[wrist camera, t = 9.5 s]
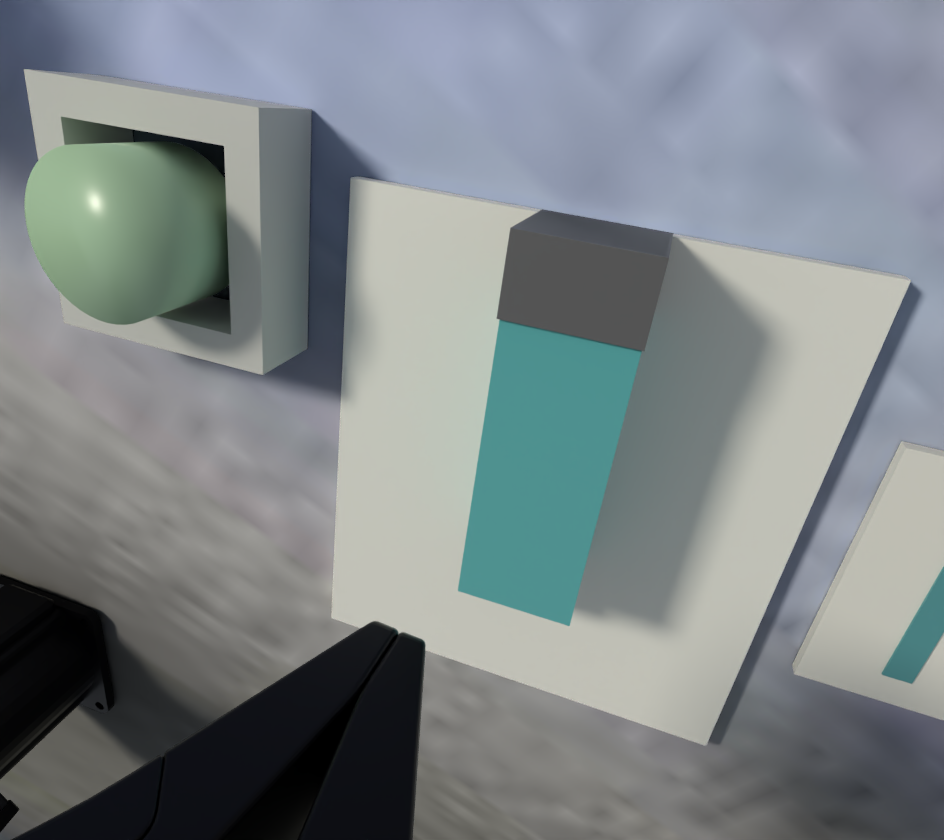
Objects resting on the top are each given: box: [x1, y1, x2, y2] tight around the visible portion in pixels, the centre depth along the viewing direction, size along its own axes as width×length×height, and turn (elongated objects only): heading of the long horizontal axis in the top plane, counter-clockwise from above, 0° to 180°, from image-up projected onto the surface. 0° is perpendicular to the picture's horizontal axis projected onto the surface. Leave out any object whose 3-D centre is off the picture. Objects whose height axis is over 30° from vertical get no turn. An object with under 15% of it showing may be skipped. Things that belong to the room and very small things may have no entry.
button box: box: [24, 69, 312, 375], centre depth 19 cm, size 7×7×2 cm
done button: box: [25, 141, 229, 325], centre depth 18 cm, size 4×4×3 cm
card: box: [792, 441, 944, 720], centre depth 18 cm, size 8×5×1 cm, turn 172°
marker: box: [458, 210, 673, 626], centre depth 17 cm, size 11×3×3 cm, turn 172°
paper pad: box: [331, 176, 911, 746], centre depth 20 cm, size 16×14×1 cm
